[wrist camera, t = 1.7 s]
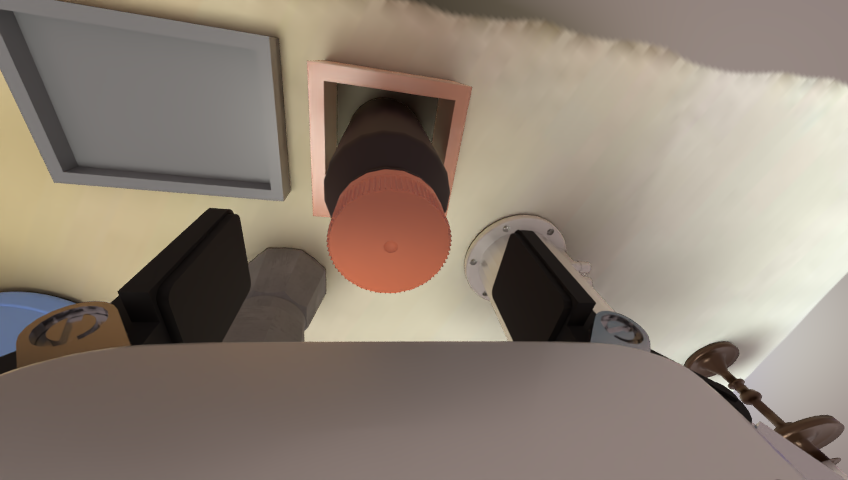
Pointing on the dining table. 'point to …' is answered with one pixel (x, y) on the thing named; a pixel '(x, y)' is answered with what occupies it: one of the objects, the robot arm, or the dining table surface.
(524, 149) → the dining table surface
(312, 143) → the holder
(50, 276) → the dining table surface
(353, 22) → the dining table surface
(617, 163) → the dining table surface
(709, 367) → the candlestick
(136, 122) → the tray
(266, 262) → the coffeepot
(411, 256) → the vinegar
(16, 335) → the water jug
